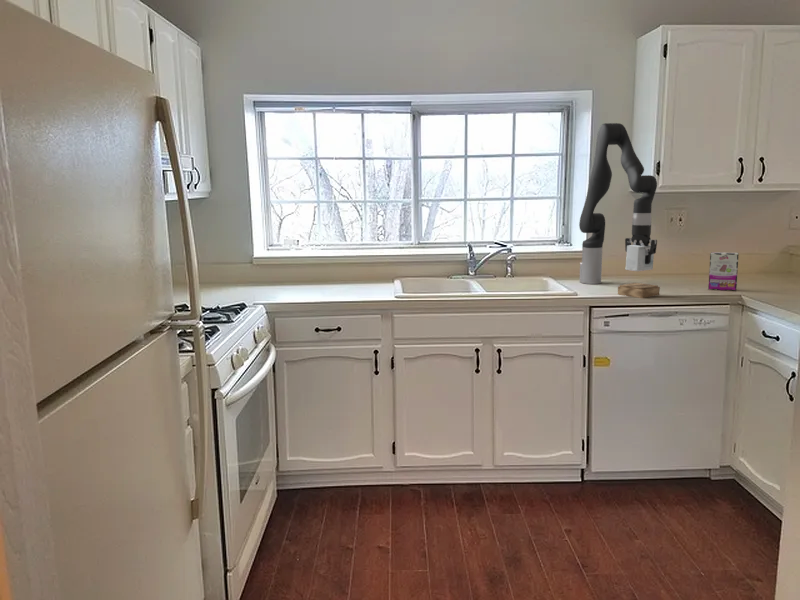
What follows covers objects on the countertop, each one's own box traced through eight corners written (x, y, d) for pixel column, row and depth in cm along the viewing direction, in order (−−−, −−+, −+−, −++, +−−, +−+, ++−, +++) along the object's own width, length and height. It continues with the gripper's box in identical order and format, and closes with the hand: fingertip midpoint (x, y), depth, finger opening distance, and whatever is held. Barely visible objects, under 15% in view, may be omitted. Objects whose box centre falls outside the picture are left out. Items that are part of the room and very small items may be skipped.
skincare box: (637, 271, 262) (639, 246, 261) (625, 270, 268) (626, 245, 266) (653, 269, 268) (655, 244, 266) (640, 268, 273) (642, 243, 271)
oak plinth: (617, 294, 271) (618, 285, 270) (634, 291, 278) (634, 282, 277) (642, 298, 261) (642, 288, 261) (659, 294, 268) (659, 285, 268)
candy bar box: (736, 289, 278) (739, 252, 275) (736, 291, 274) (739, 253, 271) (708, 288, 283) (710, 251, 280) (707, 289, 279) (710, 252, 276)
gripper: (621, 223, 268) (619, 262, 271) (651, 224, 256) (649, 265, 259) (632, 222, 272) (630, 261, 275) (662, 224, 261) (660, 264, 264)
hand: (639, 263), depth 267 cm, fingers closed on skincare box, 6 cm apart
